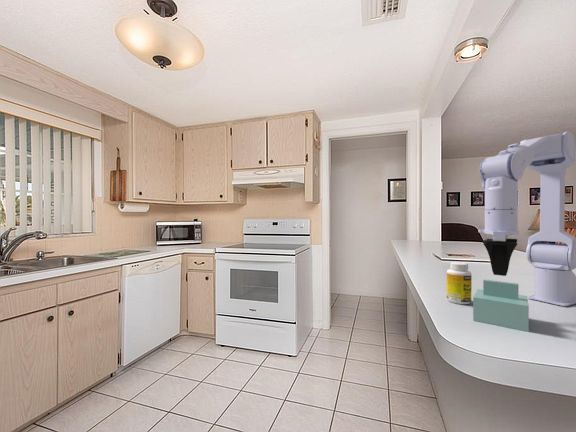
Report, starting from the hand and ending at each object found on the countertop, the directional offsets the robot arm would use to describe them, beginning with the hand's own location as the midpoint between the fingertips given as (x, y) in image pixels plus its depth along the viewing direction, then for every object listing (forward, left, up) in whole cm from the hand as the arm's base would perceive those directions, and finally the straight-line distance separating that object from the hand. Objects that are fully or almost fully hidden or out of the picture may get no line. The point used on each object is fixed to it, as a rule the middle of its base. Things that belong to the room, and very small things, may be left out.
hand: (500, 272), depth 60 cm
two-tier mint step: (0, 0, -10) cm, 10 cm away
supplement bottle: (-4, -12, -10) cm, 17 cm away
